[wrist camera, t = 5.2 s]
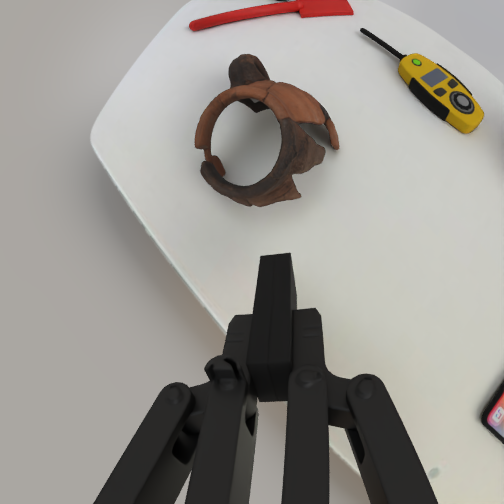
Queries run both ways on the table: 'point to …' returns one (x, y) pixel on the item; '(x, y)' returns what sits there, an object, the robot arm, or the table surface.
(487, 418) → the smartphone
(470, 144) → the table surface
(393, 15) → the table surface
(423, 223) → the table surface
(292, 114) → the brown hollow curved piece
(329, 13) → the spatula
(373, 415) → the robot arm
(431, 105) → the yellow walkie talkie
